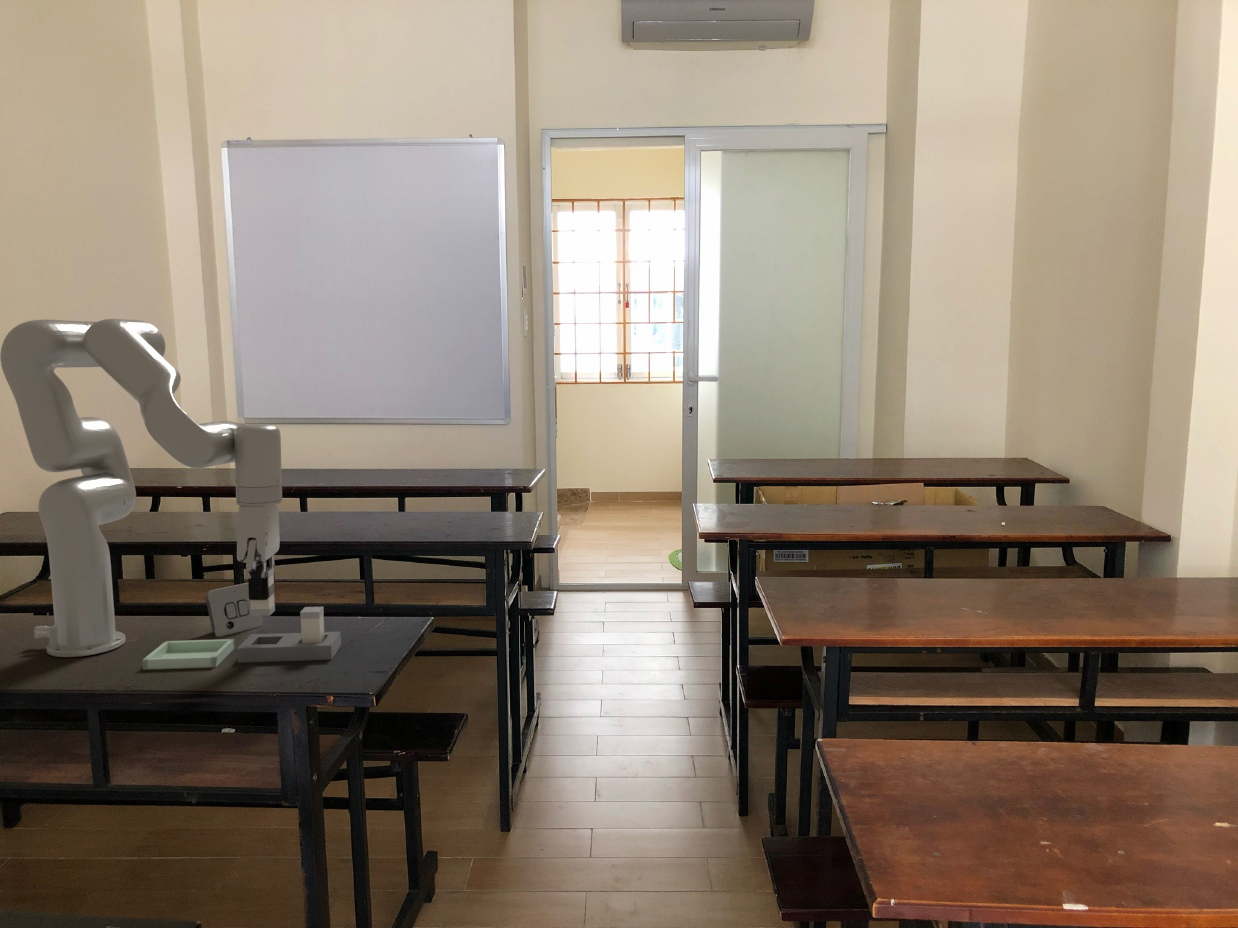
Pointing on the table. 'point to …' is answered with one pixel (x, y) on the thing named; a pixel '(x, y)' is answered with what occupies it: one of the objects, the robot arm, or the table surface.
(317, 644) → the block
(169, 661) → the parts tray
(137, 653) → the table surface
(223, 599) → the electrical switch
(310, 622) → the block
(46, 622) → the table surface
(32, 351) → the robot arm
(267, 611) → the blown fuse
